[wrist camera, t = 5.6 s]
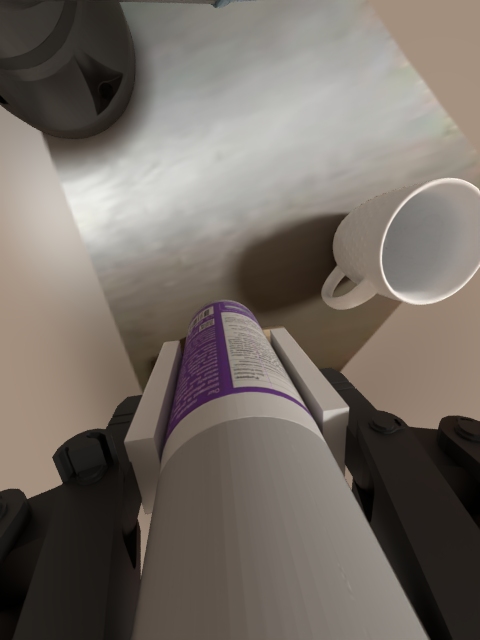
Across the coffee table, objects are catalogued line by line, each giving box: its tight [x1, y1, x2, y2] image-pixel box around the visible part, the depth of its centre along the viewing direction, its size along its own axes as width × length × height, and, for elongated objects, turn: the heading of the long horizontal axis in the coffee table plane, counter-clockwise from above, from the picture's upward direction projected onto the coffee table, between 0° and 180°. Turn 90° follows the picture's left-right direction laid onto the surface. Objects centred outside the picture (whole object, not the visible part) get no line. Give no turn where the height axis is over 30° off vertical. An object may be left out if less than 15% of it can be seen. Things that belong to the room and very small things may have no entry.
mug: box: [321, 178, 480, 310], centre depth 29 cm, size 15×11×13 cm
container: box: [130, 300, 431, 640], centre depth 10 cm, size 5×5×15 cm
